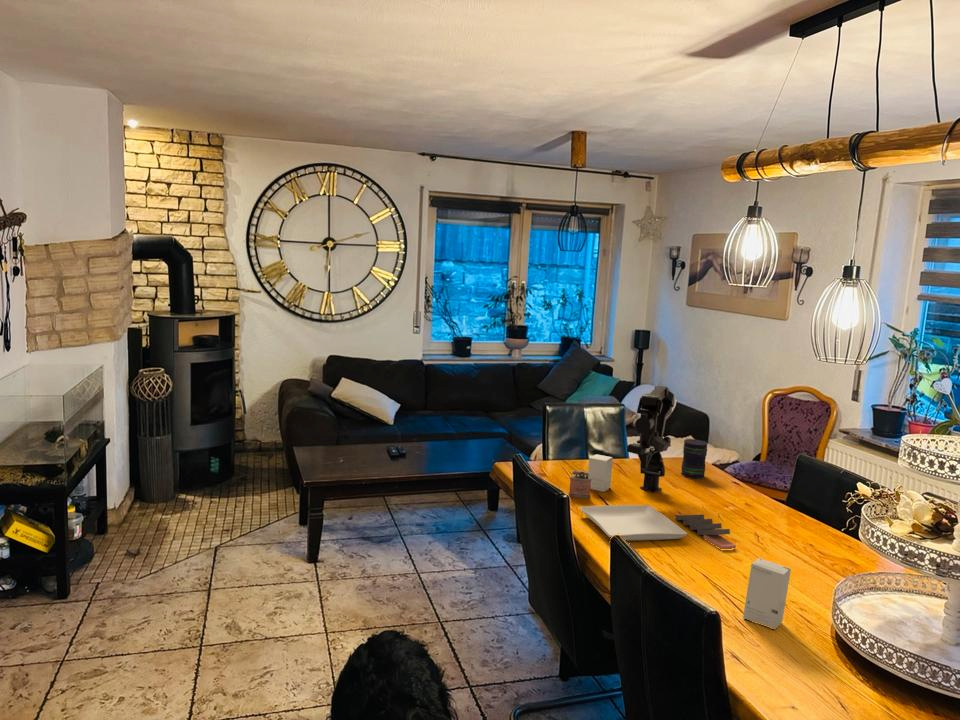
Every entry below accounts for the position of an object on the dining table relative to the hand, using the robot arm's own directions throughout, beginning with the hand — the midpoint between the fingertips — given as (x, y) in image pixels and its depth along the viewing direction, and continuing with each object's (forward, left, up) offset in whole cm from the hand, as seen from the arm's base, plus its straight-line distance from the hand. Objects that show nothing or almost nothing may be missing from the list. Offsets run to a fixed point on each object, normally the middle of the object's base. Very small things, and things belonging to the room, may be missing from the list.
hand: (644, 468), depth 267 cm
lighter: (+18, -16, -12) cm, 27 cm away
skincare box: (+58, +73, -12) cm, 94 cm away
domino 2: (+10, +25, -11) cm, 30 cm away
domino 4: (+14, +33, -11) cm, 38 cm away
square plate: (+30, +15, -13) cm, 36 cm away
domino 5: (+16, +36, -11) cm, 42 cm away
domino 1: (+8, +21, -11) cm, 25 cm away
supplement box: (+3, -18, -12) cm, 22 cm away
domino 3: (+13, +29, -11) cm, 34 cm away
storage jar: (-47, -5, -12) cm, 49 cm away
